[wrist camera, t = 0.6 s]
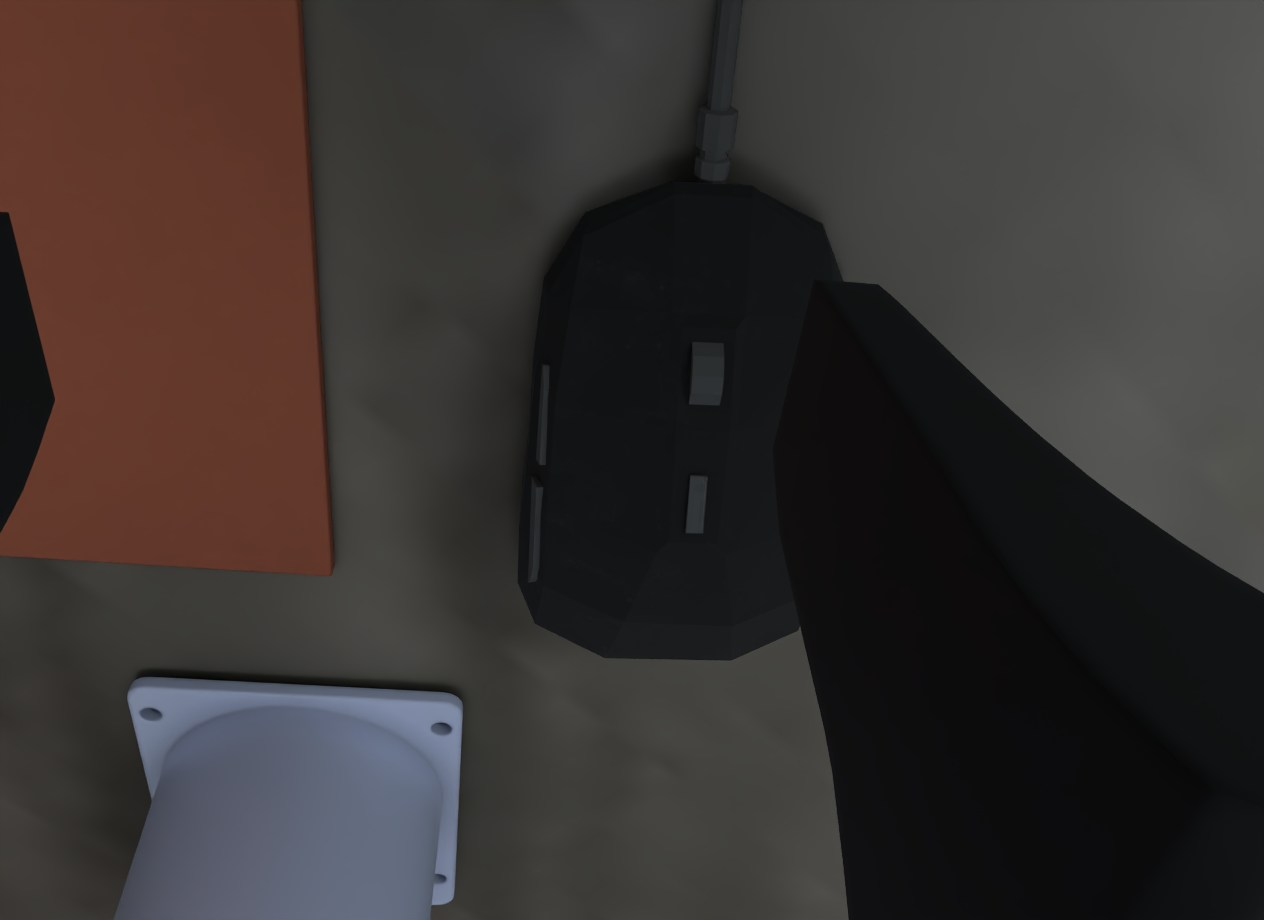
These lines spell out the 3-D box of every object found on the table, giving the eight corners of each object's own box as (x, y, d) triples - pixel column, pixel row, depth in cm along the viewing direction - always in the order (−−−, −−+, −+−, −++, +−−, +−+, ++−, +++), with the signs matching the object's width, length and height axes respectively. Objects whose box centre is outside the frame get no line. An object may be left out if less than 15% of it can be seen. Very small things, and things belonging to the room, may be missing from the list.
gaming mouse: (926, 3, 19) (992, 108, 16) (783, 628, 28) (807, 770, 25) (528, -22, 18) (516, 81, 15) (519, 621, 28) (511, 764, 25)
